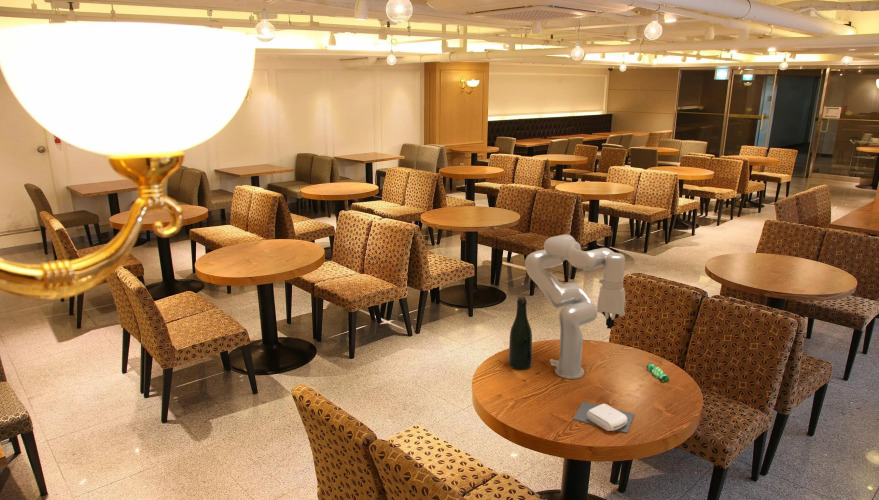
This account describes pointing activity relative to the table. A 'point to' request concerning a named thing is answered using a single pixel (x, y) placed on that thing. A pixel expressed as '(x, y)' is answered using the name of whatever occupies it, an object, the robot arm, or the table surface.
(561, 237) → the robot arm
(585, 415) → the rubber mat
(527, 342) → the dark green wine bottle
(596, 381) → the table surface
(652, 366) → the candy
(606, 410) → the photo printer
